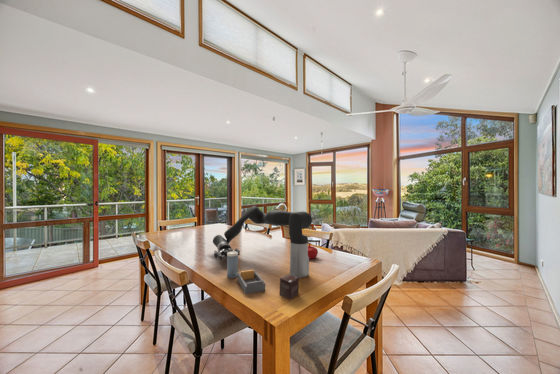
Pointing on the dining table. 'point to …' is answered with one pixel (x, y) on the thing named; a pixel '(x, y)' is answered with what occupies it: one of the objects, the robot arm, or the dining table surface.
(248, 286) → the grey open tray
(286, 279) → the box
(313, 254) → the pomegranate
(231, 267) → the jar
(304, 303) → the dining table surface
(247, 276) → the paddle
